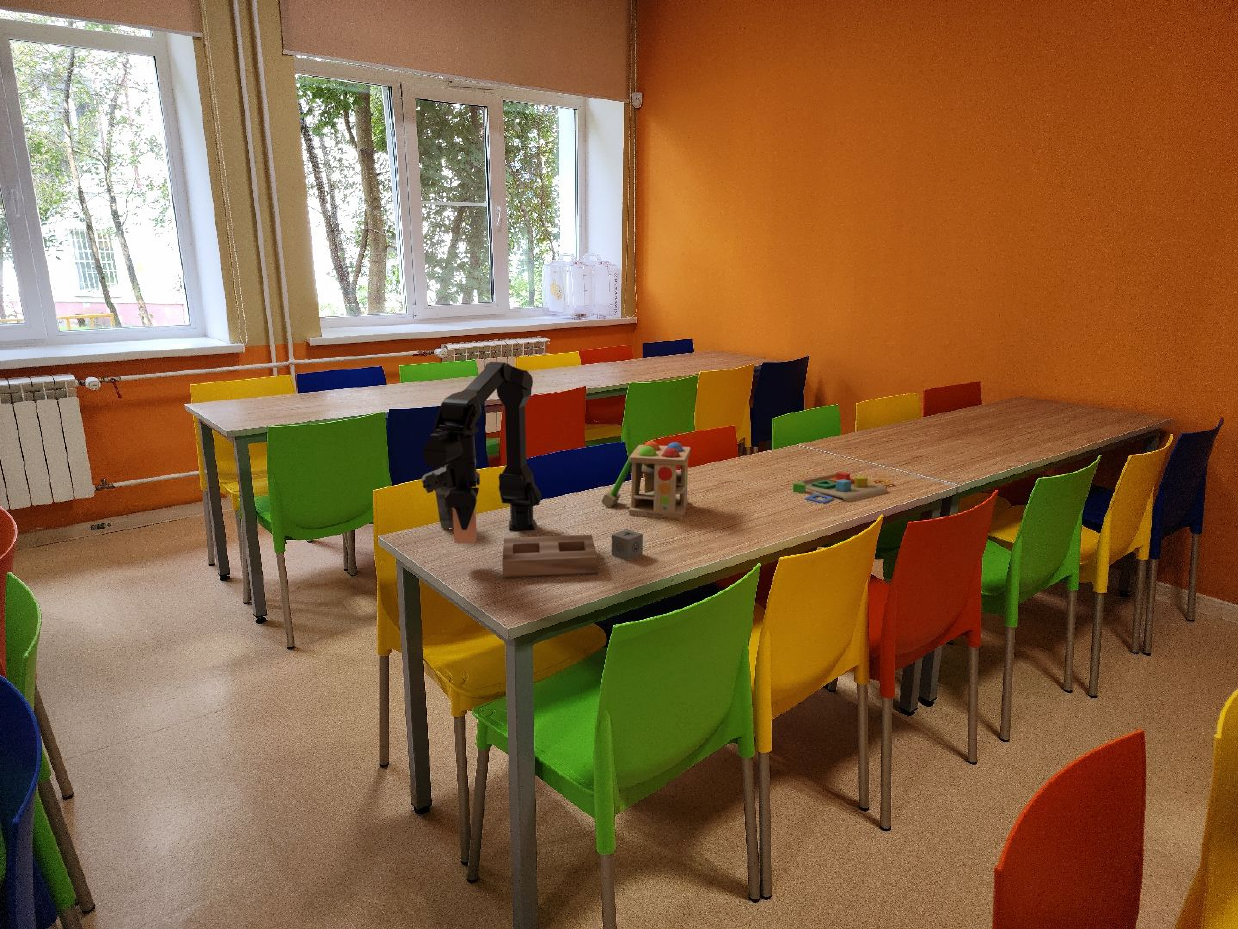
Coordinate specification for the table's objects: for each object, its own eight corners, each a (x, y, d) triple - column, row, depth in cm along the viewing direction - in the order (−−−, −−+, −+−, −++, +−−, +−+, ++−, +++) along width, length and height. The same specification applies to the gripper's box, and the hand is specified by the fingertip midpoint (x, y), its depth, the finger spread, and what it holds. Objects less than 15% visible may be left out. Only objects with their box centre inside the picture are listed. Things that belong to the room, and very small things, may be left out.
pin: (456, 536, 176) (453, 492, 173) (476, 535, 176) (474, 492, 174) (454, 543, 172) (452, 499, 169) (475, 542, 172) (473, 498, 170)
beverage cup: (466, 521, 204) (463, 445, 198) (462, 531, 197) (458, 452, 191) (438, 521, 203) (433, 445, 198) (432, 531, 196) (427, 452, 191)
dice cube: (642, 554, 182) (642, 534, 180) (628, 560, 178) (628, 539, 177) (626, 549, 185) (626, 529, 184) (611, 555, 181) (611, 534, 180)
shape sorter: (857, 475, 248) (858, 460, 247) (907, 489, 233) (909, 474, 232) (777, 492, 230) (778, 476, 229) (827, 509, 215) (828, 493, 214)
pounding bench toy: (596, 513, 210) (596, 447, 206) (608, 497, 224) (607, 435, 219) (683, 519, 206) (684, 452, 201) (689, 502, 219) (691, 439, 215)
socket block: (504, 554, 181) (503, 538, 180) (591, 550, 184) (591, 534, 183) (503, 578, 168) (502, 561, 167) (597, 574, 170) (597, 557, 169)
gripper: (428, 447, 177) (432, 513, 181) (417, 469, 159) (422, 542, 163) (478, 445, 178) (481, 512, 183) (473, 467, 161) (477, 540, 165)
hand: (465, 525), depth 173 cm, fingers closed on pin, 4 cm apart
